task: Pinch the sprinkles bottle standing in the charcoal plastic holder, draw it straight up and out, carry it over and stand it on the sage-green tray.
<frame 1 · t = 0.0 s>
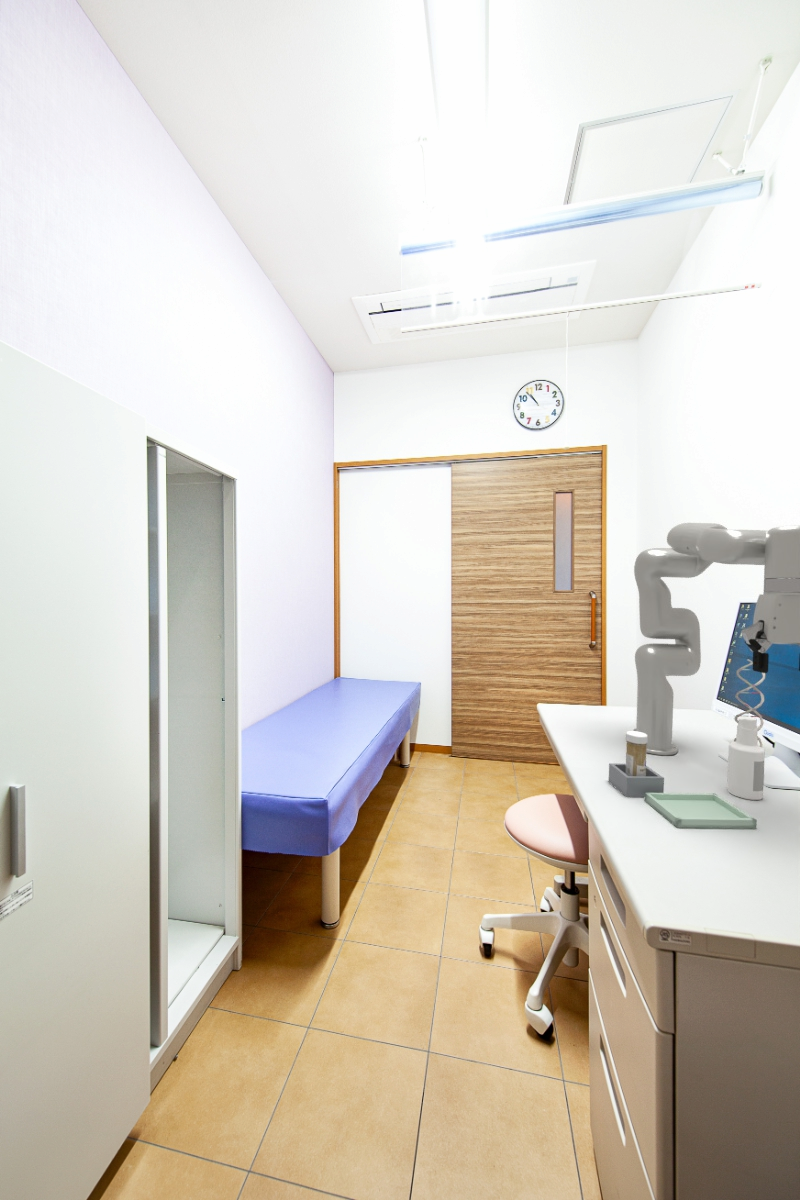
hand: (783, 672, 94), 31 cm above the table, tool pointing down, fingers open, 9 cm apart
sprinkles bottle: (634, 790, 111), resting in holder
dna model: (746, 776, 120), on the table
holder: (634, 789, 111), on the table
tray: (697, 813, 99), on the table
white bottle: (744, 795, 109), on the table
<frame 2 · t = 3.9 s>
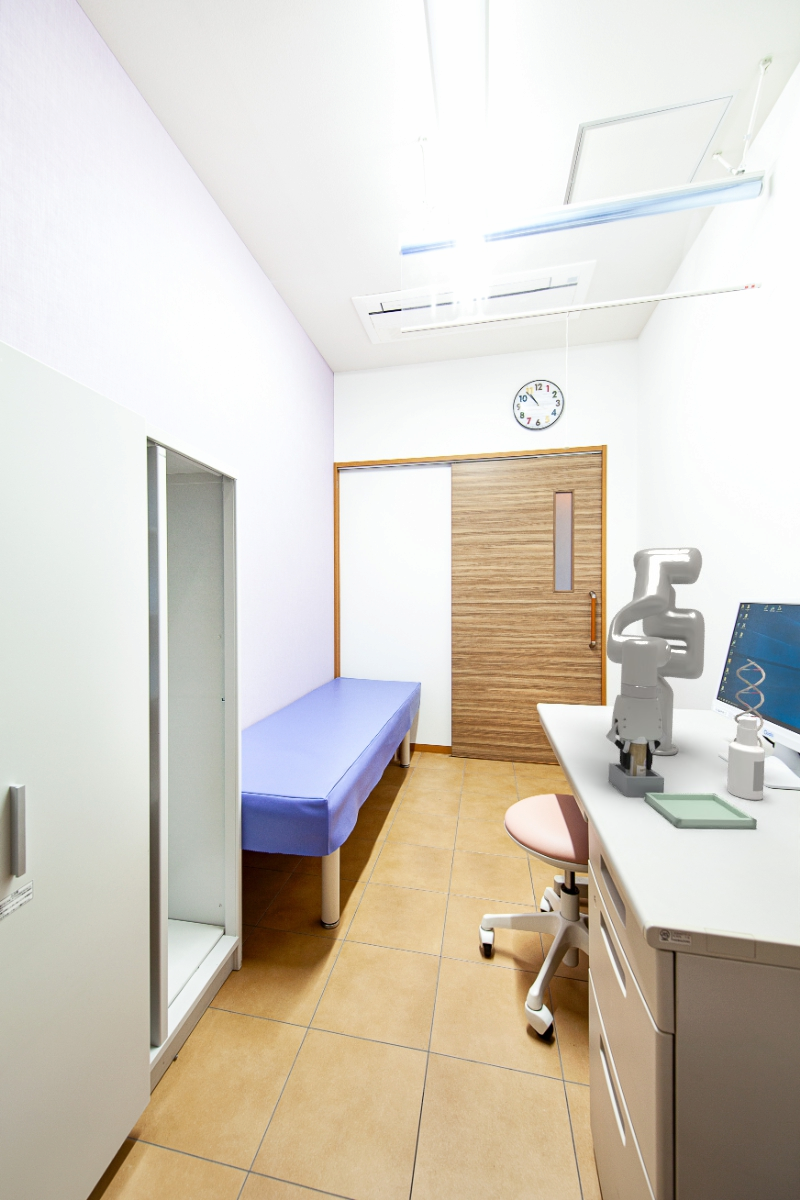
hand: (635, 766, 111), 5 cm above the table, tool pointing down, fingers closed on sprinkles bottle, 4 cm apart
sprinkles bottle: (634, 790, 111), resting in holder, touching gripper
everything else where it was.
when the fingers open (7 cm above the table, at t = 9.5 s): sprinkles bottle drops 1 cm, resting on tray.
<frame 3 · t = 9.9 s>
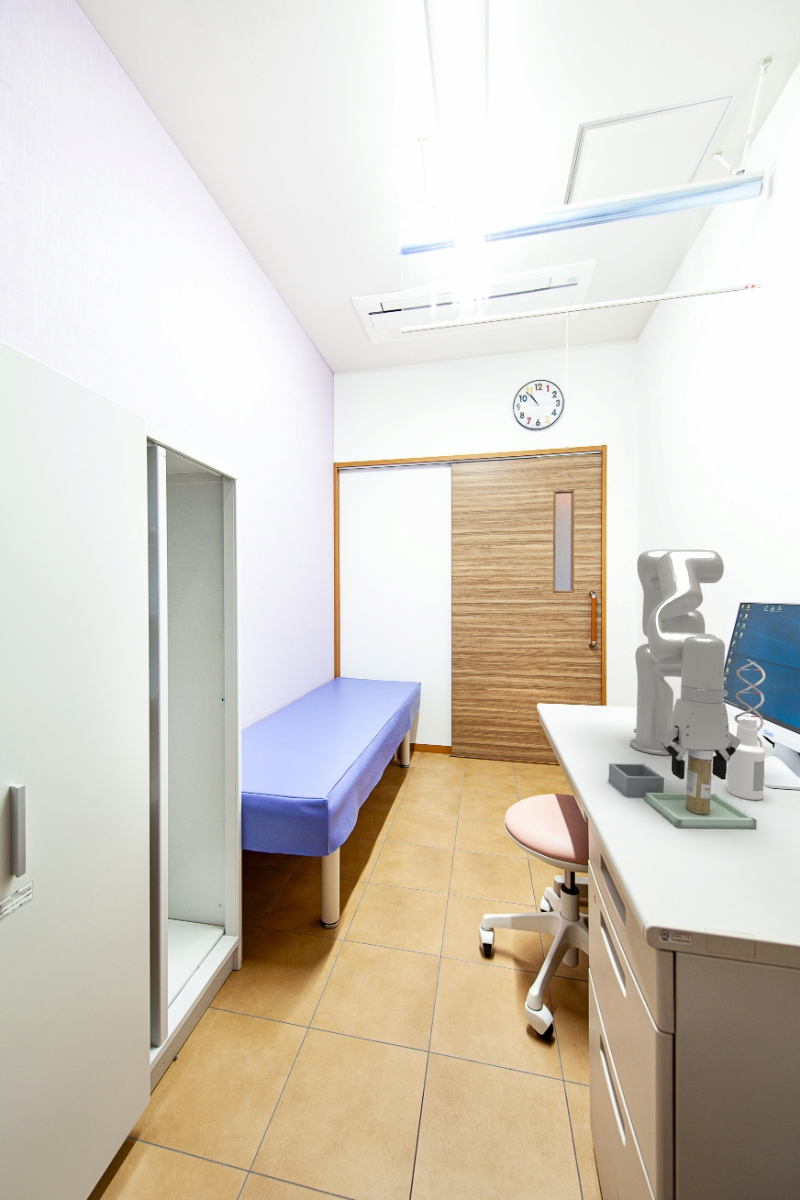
hand: (698, 776, 99), 8 cm above the table, tool pointing down, fingers open, 8 cm apart
sprinkles bottle: (697, 811, 99), resting on tray
everything else where it was.
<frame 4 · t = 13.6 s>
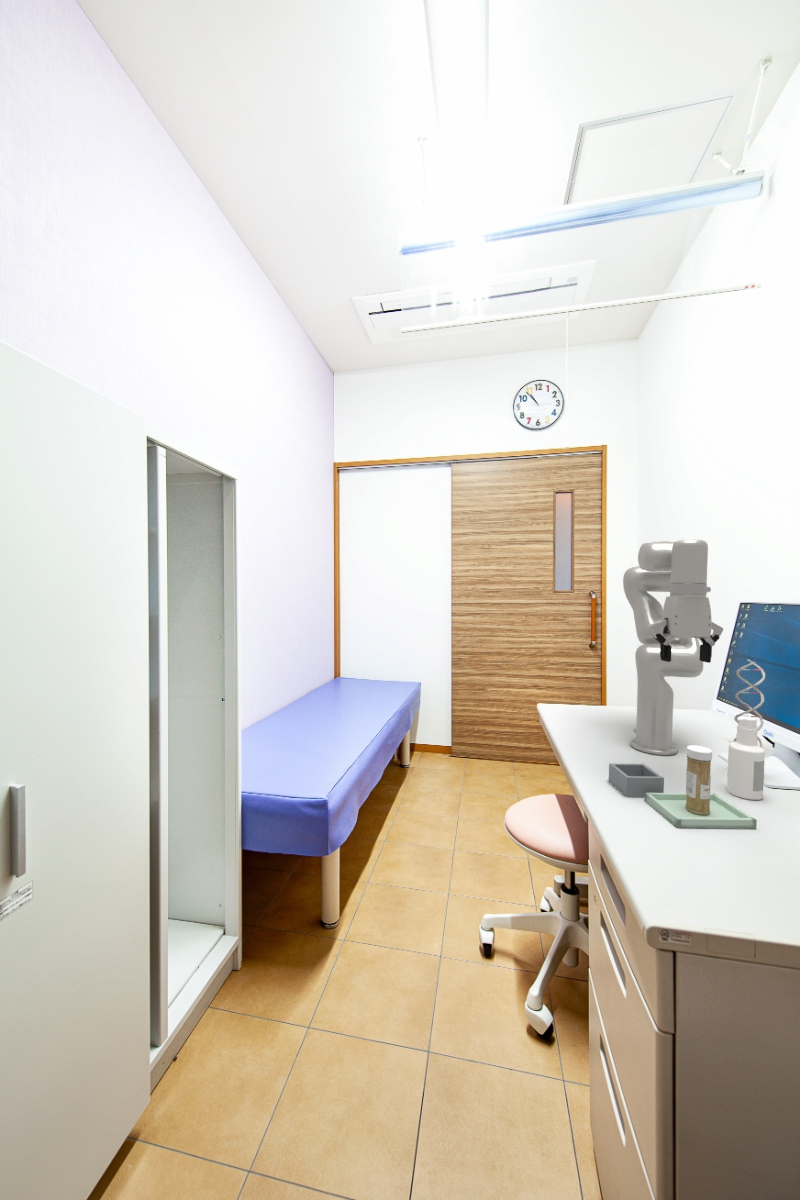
hand: (685, 661, 113), 30 cm above the table, tool pointing down, fingers open, 9 cm apart
nothing on the table moved.
at the end: sprinkles bottle inside the target area on the tray (0.2 cm from its centre), point 0.4 cm above the tray's base; sprinkles bottle tilted 0°; the gripper is holding nothing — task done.
